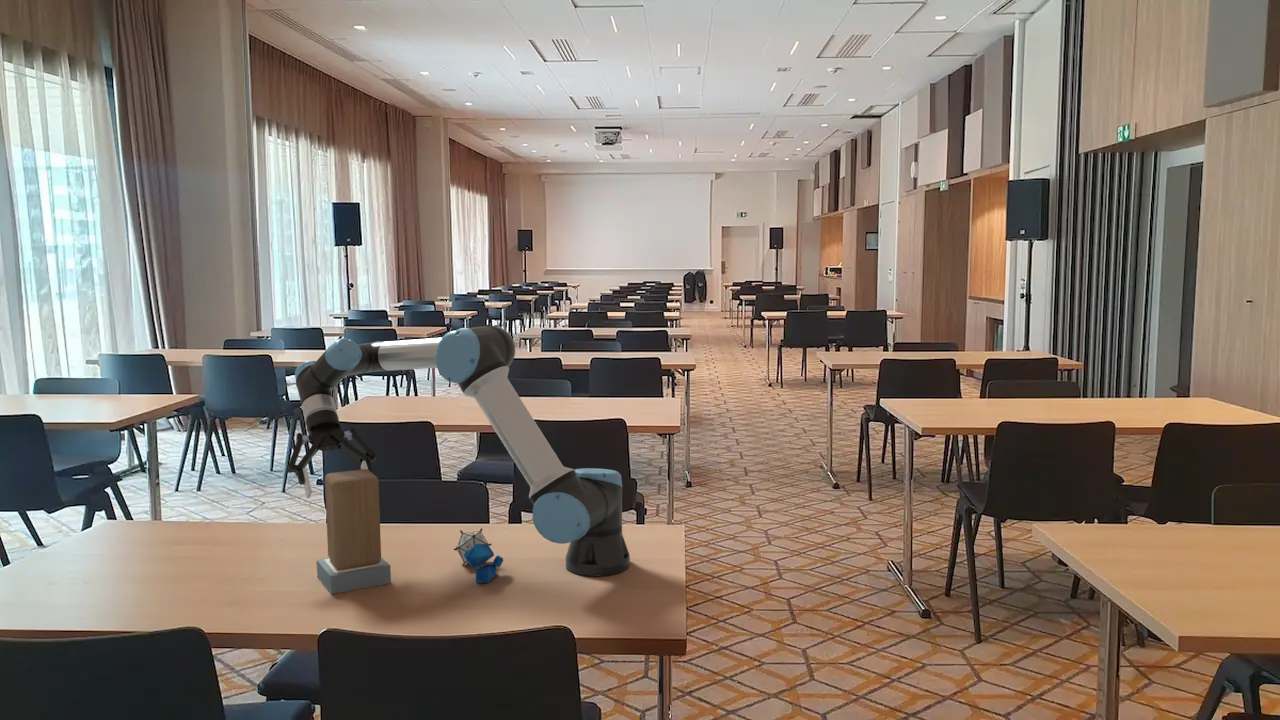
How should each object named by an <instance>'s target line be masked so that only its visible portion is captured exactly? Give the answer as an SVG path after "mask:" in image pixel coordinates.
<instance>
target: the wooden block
mask: <svg viewBox="0 0 1280 720" xmlns="http://www.w3.org/2000/svg"><path fill="white" fill-rule="evenodd" d="M324 476H325V477H324V487H325V488H324V489H325V490H324V492H325V514H326V515H325V517H326V536H327V538H326V539H327V540H326V541H327V556H328V558H330V560H331V561H332V563H333V564H334V565H335V567H336V568H337V569H346V568H352V567H358V566H364V565H370V564H376V563H379V562H380V560H381V557H382V546H381V545H382V541H381V539H382V538H381V515H380V514H381V511H380V510H381V509H380V492H379V491H380V487H379V485H380V483H379V478H378V477H377V475H375V474H374V473H373V471H372V472H370V471H369V470H367V469H361V468H360V469H354V470H346V471H336V472H329V473H326V474H325V475H324Z"/></svg>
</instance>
